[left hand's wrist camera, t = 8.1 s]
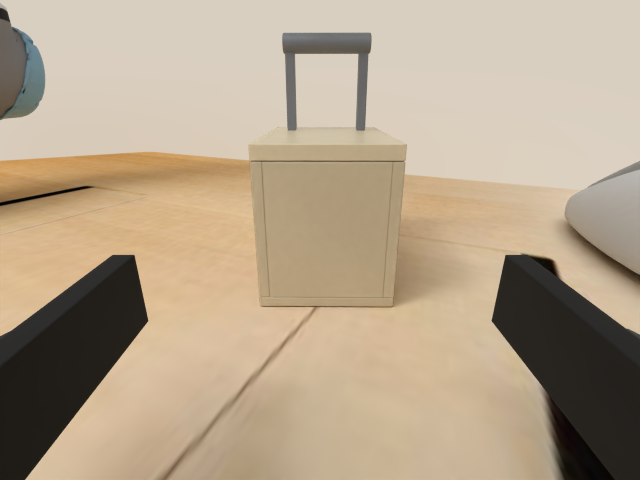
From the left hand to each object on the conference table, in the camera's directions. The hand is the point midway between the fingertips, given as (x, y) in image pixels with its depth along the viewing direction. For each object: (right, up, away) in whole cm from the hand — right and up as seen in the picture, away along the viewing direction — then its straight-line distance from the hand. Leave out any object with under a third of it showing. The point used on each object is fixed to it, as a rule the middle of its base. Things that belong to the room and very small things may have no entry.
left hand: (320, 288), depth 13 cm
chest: (0, 0, +17) cm, 17 cm away
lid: (0, +9, +14) cm, 16 cm away
